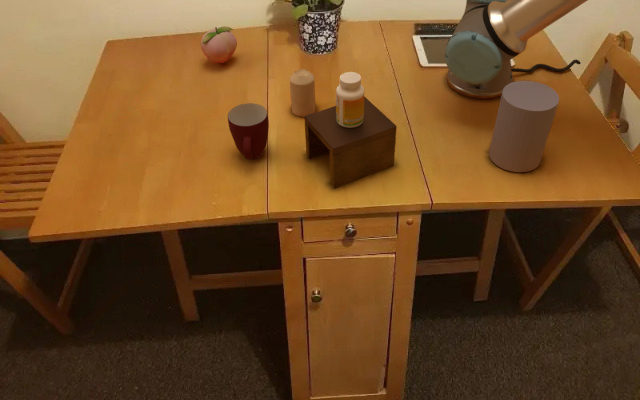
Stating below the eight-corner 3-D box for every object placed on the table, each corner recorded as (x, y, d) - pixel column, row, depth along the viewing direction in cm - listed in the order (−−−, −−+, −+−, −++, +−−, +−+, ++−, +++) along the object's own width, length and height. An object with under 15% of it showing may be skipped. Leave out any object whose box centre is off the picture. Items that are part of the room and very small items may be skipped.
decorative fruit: (221, 50, 155) (215, 15, 148) (244, 59, 152) (239, 23, 145) (196, 66, 150) (189, 30, 143) (219, 75, 146) (213, 38, 139)
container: (484, 141, 124) (497, 80, 113) (533, 141, 123) (551, 80, 113) (493, 173, 116) (508, 111, 106) (545, 173, 116) (565, 111, 106)
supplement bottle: (369, 119, 114) (371, 76, 107) (351, 132, 111) (352, 88, 104) (348, 109, 116) (348, 66, 110) (330, 121, 114) (329, 77, 107)
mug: (274, 171, 119) (270, 131, 112) (234, 175, 118) (227, 136, 111) (270, 139, 126) (266, 101, 119) (233, 143, 126) (226, 105, 119)
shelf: (363, 135, 127) (364, 96, 120) (393, 165, 119) (396, 126, 112) (306, 155, 122) (304, 115, 115) (333, 188, 114) (333, 148, 107)
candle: (312, 118, 132) (311, 79, 125) (289, 115, 133) (286, 77, 126) (317, 104, 136) (316, 66, 129) (294, 102, 137) (292, 64, 130)
